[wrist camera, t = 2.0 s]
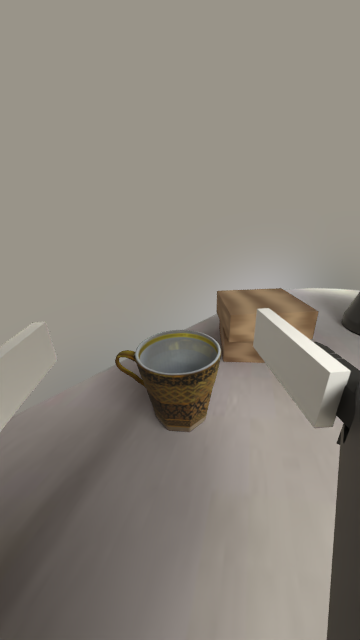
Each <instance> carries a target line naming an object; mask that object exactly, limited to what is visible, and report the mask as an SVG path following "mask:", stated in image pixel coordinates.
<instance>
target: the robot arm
mask: <svg viewBox="0 0 360 640" xmlns="http://www.w3.org/2000/svg"><path fill="white" fill-rule="evenodd" d="M342 323H343V325H344V326H345V327H346V328H348V329H349V330H351V331H353V332H355V333H357V334H359V335H360V292H359V294H358V295H357V296H356V298H355V299H354V300H353V302H352V303H351V305H350V306H349V308H348V309H347V310H346V311H345V313H344V316H343V320H342ZM253 347H254V348H255V350H256V351H257V352H258V354H259V355H260V356H261V358H262V359H263V360H264V362H265V363H266V364H267V366H268V367H269V368H270V370H271V371H272V372H273V374H274V375H275V376H276V378H277V379H278V380H279V382H280V383H281V384H282V386H283V387H284V388H285V390H286V391H287V392H288V394H289V395H290V396H291V398H292V399H293V400H294V402H295V403H296V404H297V406H298V407H299V408H300V410H301V411H302V412H303V414H304V415H305V416H306V418H307V419H308V420H309V422H310V423H311V424H312V426H313V427H314V428H324V427H333V424H334V421H335V418H336V415H337V416H338V417H339V419H340V420H341V421H342V422H343V423H344V424H343V427H342V429H341V432H340V435H339V438H338V441H337V444H339V445H340V457H339V471H338V486H337V500H336V515H335V529H334V544H333V558H332V573H331V587H330V602H329V616H328V630H327V640H360V370H358V369H357V368H355V367H354V366H353V365H351V364H350V363H349V362H347V361H346V360H345V359H342V357H340V356H339V355H338V354H335V352H334V351H332V350H331V349H329V348H328V347H327V346H324V345H322V344H320V343H317V342H312V341H311V340H310V339H308V338H307V337H306V336H305V335H303V334H302V333H301V332H299V331H298V330H297V329H295V328H294V327H293V326H292V325H290V324H289V323H288V322H286V321H285V320H284V319H282V318H281V317H280V316H279V315H277V314H276V313H275V312H273V311H272V310H271V309H269V308H262V309H257V314H256V324H255V333H254V342H253ZM57 360H58V359H57V356H56V353H55V350H54V346H53V343H52V340H51V337H50V333H49V330H48V327H47V324H46V322H34V323H32V324H30V325H29V326H28V327H26V328H25V329H23V330H22V331H21V332H19V333H18V334H17V335H15V336H14V337H12V338H11V339H10V340H8V341H7V342H5V343H4V344H3V345H1V346H0V431H1V430H2V429H3V428H4V426H5V425H6V424H7V423H8V421H9V420H10V419H11V418H12V417H13V415H14V414H15V413H16V411H17V410H18V409H19V408H20V407H21V405H22V404H23V403H24V401H25V400H26V399H27V398H28V396H29V395H30V394H31V393H32V392H33V390H34V389H35V388H36V386H37V385H38V384H39V383H40V381H41V380H42V379H43V378H44V377H45V375H46V374H47V373H48V372H49V370H50V369H51V368H52V367H53V365H54V364H55V363H56V362H57Z"/></svg>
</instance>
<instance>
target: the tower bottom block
mask: <svg viewBox="0 0 360 640" xmlns="http://www.w3.org/2000/svg"><path fill="white" fill-rule="evenodd" d="M219 329H220V337H221V345H222V353H223V361H224V362H257V363H265V362H264V360H263V359H262V358H261V356H260V355H259V354H258V352H257V351H256V350H255V348H254V347H253V342H254V341H248V342H229V340H228V338H227V336H226V333H225V331H224V328H223V326H222V324H221V321H220V327H219Z"/></svg>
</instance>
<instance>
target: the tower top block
mask: <svg viewBox="0 0 360 640" xmlns="http://www.w3.org/2000/svg"><path fill="white" fill-rule="evenodd" d="M262 308H269V309H271V310H272V311H273V312H275V313H276V314H277V315H279V316H280V317H281V318H282V319H284V320H285V321H286V322H288V323H289V324H290V325H292V326H293V327H294V328H295V329H297V330H298V331H299V332H301V333H302V334H303V335H305V336H306V337H307V338H308V339H312V338H313V334H314V329H315V325H316V321H317V316H318V311H317V310H315V309H314V308H312V307H310V306H309V305H307V304H305V303H304V302H302V301H301V300H299V299H297V298H296V297H294V296H293V295H291V294H289V293H288V292H286V291H285V290H283V289H281V288H279V289H257V290H256V289H255V290H230V291H217V314H218V317H219V319H220V321H221V324H222V326H223V328H224V331H225V333H226V336H227V338H228V340H229V342H248V341H254V333H255V324H256V314H257V309H262Z"/></svg>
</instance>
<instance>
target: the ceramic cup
mask: <svg viewBox="0 0 360 640" xmlns="http://www.w3.org/2000/svg"><path fill="white" fill-rule="evenodd" d="M120 357H126V358H129V359H131V360H133V361H135V362H136V363H137V366H138V369H139V372H140V374H141V377H142V379H143V380H142V379H140V378H139V377H138V376H137V375H136V374H134V373H133V372H131V371H129V370H128V369H126V368H124V367H123V366H122V365H121V364H120V362H119V358H120ZM220 357H221V348H220V345H219V344H218V342H217V341H216V340H215V339H213V338H212V337H210V336H208V335H206V334H204V333H201V332H197V331H191V330H173V331H166V332H162V333H158V334H156V335H153V336H151V337H149V338H147V339H146V340H144V341H143V342H142V343H141V344H140V345H139V346H138V347H137V349H136V352H134V351H129V350H127V351H122V352H120V353H119V354H118V355H117V357H116V360H115V363H116V365H117V367H118V368H119V369H120V370H121V371H122V372H124V373H126V374H127V375H129V376H131V377H132V378H134V379H135V380H136V381H137V382H138V383H140V384H142V385H143V386H144V387H145V388H146V389H147V392H148V394H149V397H150V400H151V402H152V405H153V408H154V411H155V414H156V417H157V418H158V419H159V420H160V422H161V423H162V424H163V425H164V426H165V427H166V428H167V429H168V430H169V431H184V432H190V431H191V430H193V429H194V428H195V427H197V426H198V425H199V424H201V423H202V422H203V421H204V420H205V418H206V414H207V410H208V405H209V401H210V397H211V392H212V388H213V385H214V382H215V379H216V375H217V371H218V367H219V362H220Z"/></svg>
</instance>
